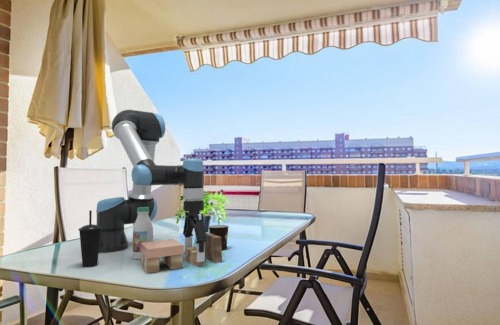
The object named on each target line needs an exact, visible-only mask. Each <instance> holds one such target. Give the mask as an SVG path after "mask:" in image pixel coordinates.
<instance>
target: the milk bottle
mask: <svg viewBox="0 0 500 325" xmlns="http://www.w3.org/2000/svg"><path fill="white" fill-rule="evenodd" d="M137 213H138V216H137V219H136V222H135V223H134V225H133V226H132V227H133V228H132V258H133V259H134V260H141V251H140V243H141V242H151V241H154V228H153V222H152V221H151V220H150V218H149V214H148V213H149V207H138V208H137Z"/></svg>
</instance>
